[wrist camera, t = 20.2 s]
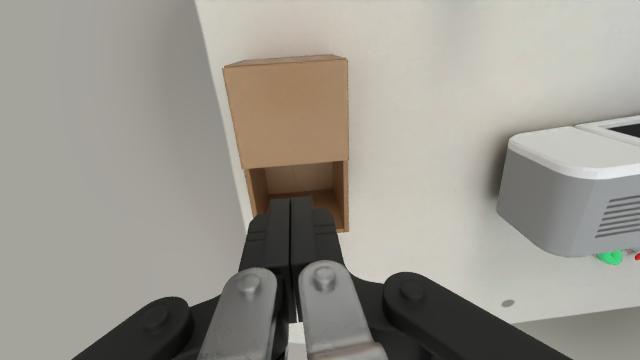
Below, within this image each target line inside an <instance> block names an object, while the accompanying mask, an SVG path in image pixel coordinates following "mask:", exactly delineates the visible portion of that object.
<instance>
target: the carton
mask: <svg viewBox="0 0 640 360" xmlns="http://www.w3.org/2000/svg"><path fill="white" fill-rule="evenodd" d="M334 60H346V58H343V57H339V56H335V55H315V56H300V57H285V58H270V59H255V60H243V61H240V62H237V63H233V64H230V65H227V66H224V68H229V67H244V66H259V65H274V64H289V63H304V62H319V61H334ZM292 170H293V172H292ZM244 172H245V178H246V183H247V188H248V193H249V198H250V203H251V208H252V213H253V219H254V217H255V216H256V215H257V214H263V213H269V207H270V201H271V200H273V199H284V198H290V200H291V198H294V197H305V196H310V197H311V196H312V197H311V206H312V209H315V208H326V209H327V210H328V211H329V212H330V213H332V214H333V218H334V222H335V227H336V231H337V233H341V232H349V210H348V160H346V161H334V162H322V163H311V164H299V165H294V166H293V165H287V166H276V167H264V168H252V169H244ZM293 174H294V175H293ZM294 176H295V177H294ZM295 178H296V179H295ZM296 180H297V181H296ZM299 184H300V185H299ZM308 190H309V191H308ZM312 199H313V200H312Z"/></svg>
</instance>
